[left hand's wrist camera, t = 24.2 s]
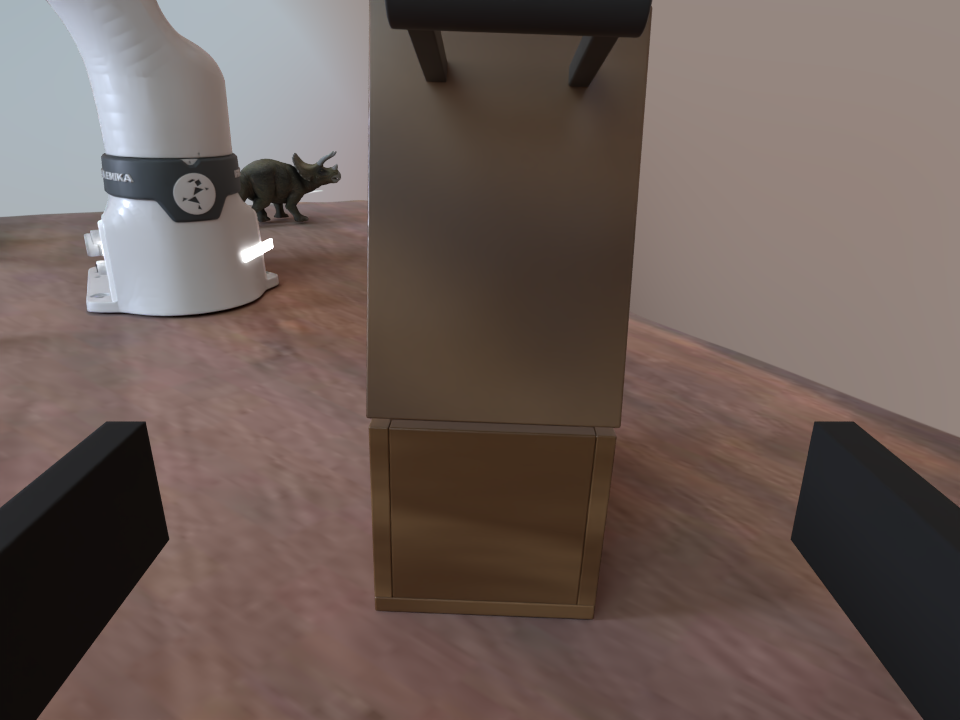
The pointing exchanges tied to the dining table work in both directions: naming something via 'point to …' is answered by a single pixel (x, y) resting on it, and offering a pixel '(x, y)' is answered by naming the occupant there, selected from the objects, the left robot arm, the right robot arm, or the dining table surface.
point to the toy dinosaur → (283, 184)
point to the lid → (502, 207)
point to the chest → (488, 516)
